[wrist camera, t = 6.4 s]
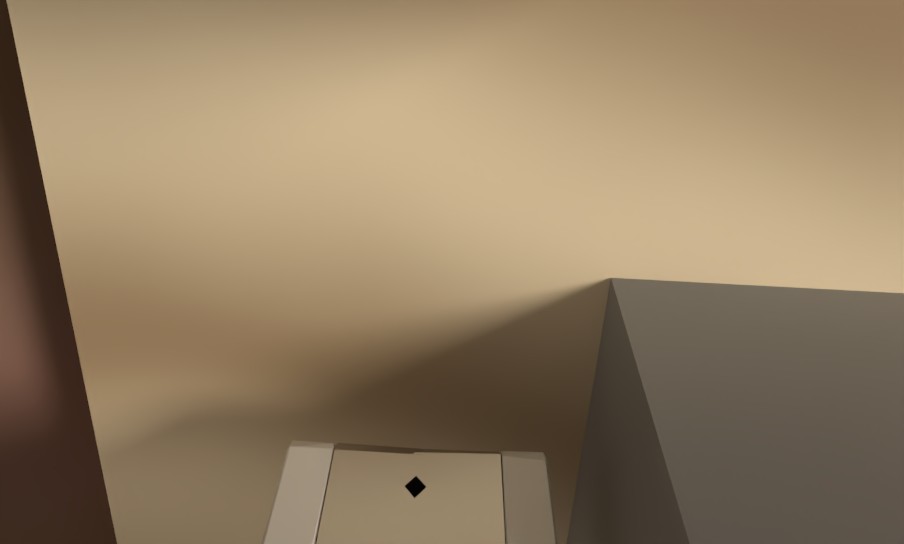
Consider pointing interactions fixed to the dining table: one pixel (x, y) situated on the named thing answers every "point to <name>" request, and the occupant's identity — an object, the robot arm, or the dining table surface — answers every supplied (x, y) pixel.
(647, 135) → the plywood panel
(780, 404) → the grey rectangular block
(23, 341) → the dining table surface
